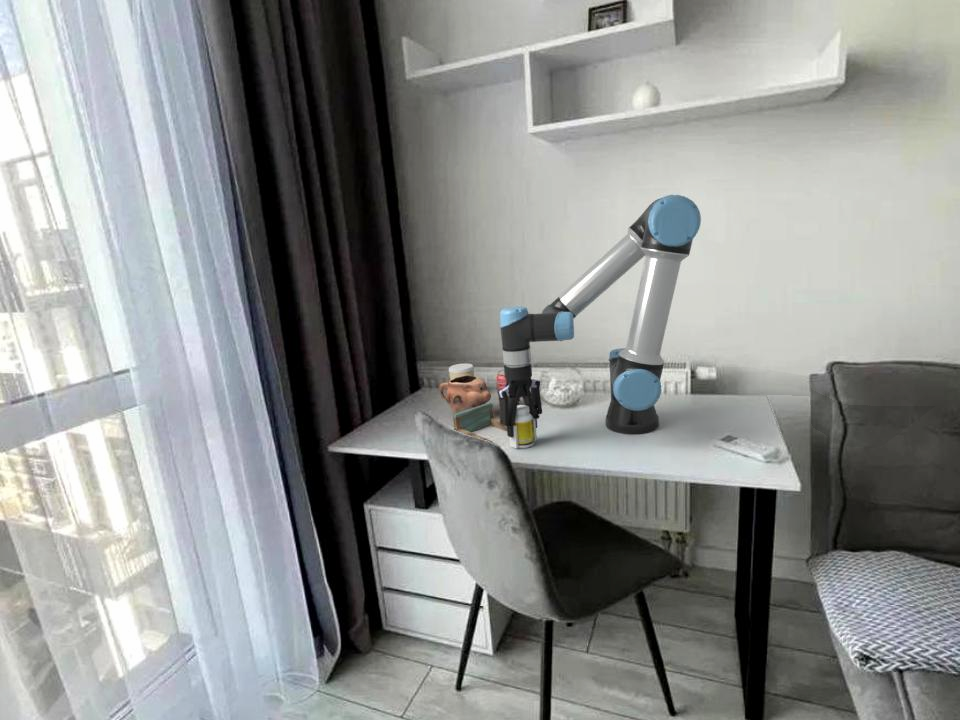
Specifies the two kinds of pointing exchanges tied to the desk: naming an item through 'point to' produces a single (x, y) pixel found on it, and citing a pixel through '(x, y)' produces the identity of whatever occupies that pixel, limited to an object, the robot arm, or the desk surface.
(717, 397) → the desk surface
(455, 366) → the coffee cup
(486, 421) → the green panel wooden stand
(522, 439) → the pill bottle
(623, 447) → the desk surface
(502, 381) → the soda can
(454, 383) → the decorative planter
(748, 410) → the desk surface
